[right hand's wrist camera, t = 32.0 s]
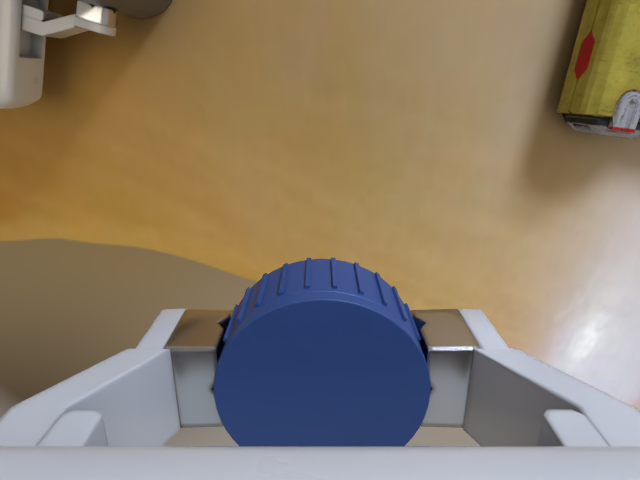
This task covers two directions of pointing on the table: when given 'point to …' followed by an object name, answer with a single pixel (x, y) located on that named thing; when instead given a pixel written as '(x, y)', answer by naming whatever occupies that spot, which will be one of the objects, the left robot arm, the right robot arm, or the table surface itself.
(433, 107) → the table surface
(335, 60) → the table surface
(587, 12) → the toy gun
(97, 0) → the bottle
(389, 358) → the cap
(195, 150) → the table surface
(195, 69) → the table surface
